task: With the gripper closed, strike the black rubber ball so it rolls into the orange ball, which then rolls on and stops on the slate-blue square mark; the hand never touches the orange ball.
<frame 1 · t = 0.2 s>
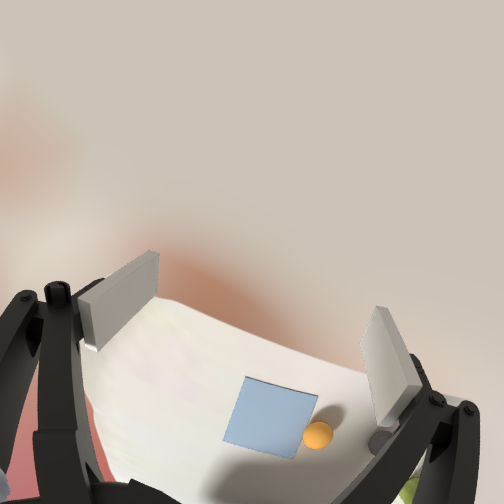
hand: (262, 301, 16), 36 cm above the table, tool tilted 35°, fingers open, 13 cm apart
plant pot: (409, 486, 37), on the table
ball b: (317, 435, 41), on the table
ball a: (382, 443, 39), on the table
mark: (269, 420, 44), on the table
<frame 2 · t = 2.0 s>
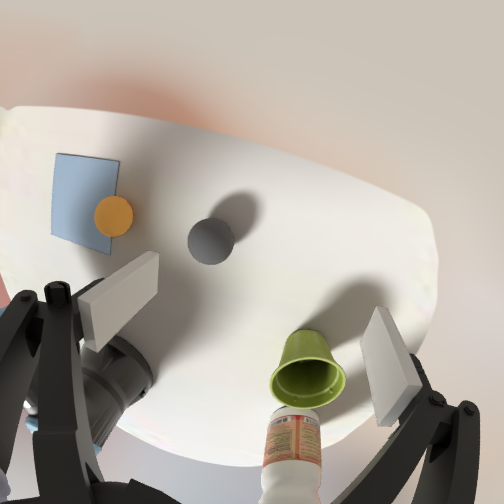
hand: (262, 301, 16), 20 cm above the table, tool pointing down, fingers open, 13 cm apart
fruit juice: (294, 419, 44), on the table
plant pot: (305, 344, 39), on the table
ball b: (113, 216, 34), on the table
ball a: (210, 241, 33), on the table
mark: (79, 201, 37), on the table
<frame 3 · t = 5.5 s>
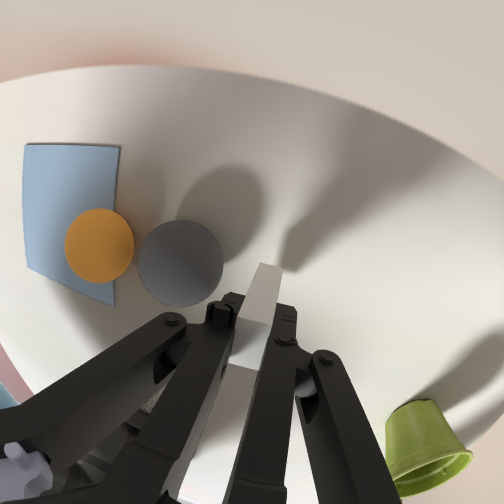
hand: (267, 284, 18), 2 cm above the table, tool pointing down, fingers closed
plant pot: (411, 415, 22), on the table
ball b: (99, 245, 18), on the table
ball a: (180, 263, 17), on the table
mark: (59, 219, 22), on the table
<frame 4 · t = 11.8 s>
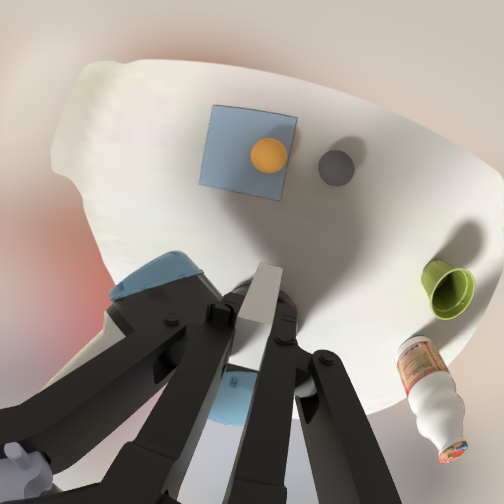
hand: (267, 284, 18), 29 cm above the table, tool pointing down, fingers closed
fruit juice: (413, 351, 50), on the table
plant pot: (434, 274, 44), on the table
ball b: (268, 155, 41), on the table
ball a: (336, 168, 39), on the table
mark: (246, 150, 43), on the table
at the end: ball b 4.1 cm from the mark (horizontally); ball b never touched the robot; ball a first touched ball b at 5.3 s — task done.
